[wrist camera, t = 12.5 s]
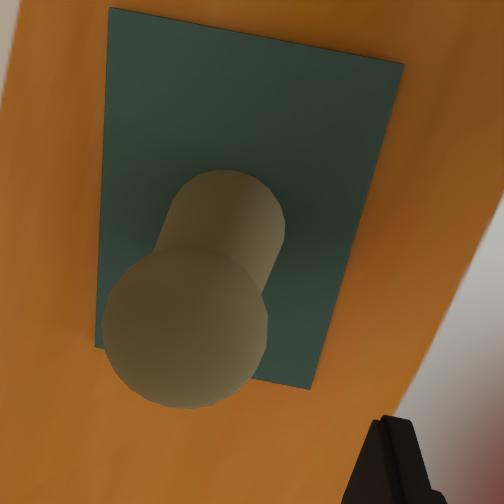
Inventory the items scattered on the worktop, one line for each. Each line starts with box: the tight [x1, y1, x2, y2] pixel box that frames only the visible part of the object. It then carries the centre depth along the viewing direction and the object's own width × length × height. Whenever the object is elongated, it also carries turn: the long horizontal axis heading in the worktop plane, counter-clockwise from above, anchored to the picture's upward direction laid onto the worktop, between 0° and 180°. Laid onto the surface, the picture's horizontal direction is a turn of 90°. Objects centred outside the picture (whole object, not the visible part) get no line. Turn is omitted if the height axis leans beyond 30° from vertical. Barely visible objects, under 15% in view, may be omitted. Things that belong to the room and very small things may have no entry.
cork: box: [101, 170, 285, 409], centre depth 18 cm, size 6×6×11 cm
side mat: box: [95, 7, 405, 390], centre depth 23 cm, size 13×18×1 cm
